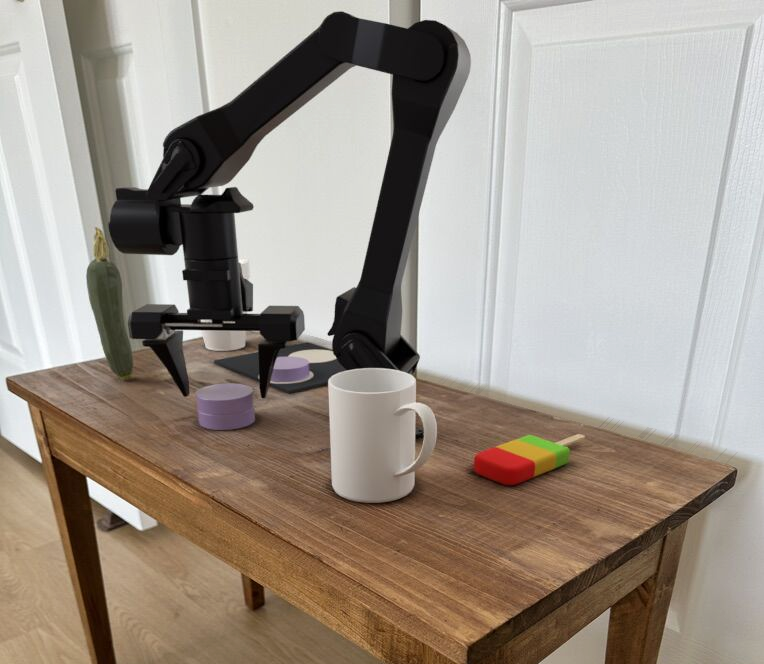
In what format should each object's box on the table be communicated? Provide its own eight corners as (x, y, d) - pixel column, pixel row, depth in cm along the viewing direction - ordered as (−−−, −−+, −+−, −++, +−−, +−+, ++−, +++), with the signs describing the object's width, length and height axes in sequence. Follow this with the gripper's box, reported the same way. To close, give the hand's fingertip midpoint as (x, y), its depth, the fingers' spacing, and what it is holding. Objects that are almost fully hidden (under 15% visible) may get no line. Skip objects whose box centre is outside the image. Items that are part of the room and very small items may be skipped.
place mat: (388, 370, 109) (388, 366, 109) (287, 394, 99) (287, 390, 99) (307, 344, 123) (307, 341, 122) (212, 363, 113) (211, 360, 112)
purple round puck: (319, 376, 105) (318, 363, 104) (278, 385, 101) (277, 372, 100) (292, 366, 109) (291, 353, 108) (252, 374, 105) (251, 362, 105)
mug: (315, 484, 73) (310, 378, 69) (380, 464, 78) (379, 363, 73) (395, 529, 65) (396, 412, 60) (462, 504, 69) (468, 393, 64)
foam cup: (236, 336, 128) (229, 255, 122) (266, 346, 122) (260, 262, 116) (185, 345, 123) (175, 261, 117) (213, 356, 116) (204, 268, 110)
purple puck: (264, 407, 89) (263, 392, 88) (214, 419, 85) (212, 404, 84) (235, 394, 93) (234, 380, 92) (186, 405, 89) (185, 390, 89)
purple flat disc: (266, 421, 89) (264, 407, 89) (216, 434, 86) (214, 419, 85) (237, 408, 94) (235, 394, 93) (188, 419, 90) (186, 405, 89)
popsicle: (467, 471, 76) (468, 454, 75) (561, 436, 84) (562, 420, 84) (510, 489, 72) (511, 471, 71) (603, 450, 81) (605, 434, 80)
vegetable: (130, 386, 102) (105, 229, 94) (99, 386, 103) (71, 229, 94) (140, 377, 106) (117, 225, 98) (110, 377, 107) (84, 225, 98)
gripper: (309, 247, 88) (315, 378, 95) (153, 246, 89) (170, 375, 96) (291, 261, 78) (299, 406, 85) (115, 260, 79) (137, 403, 86)
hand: (225, 396), depth 88 cm, fingers open, 9 cm apart
